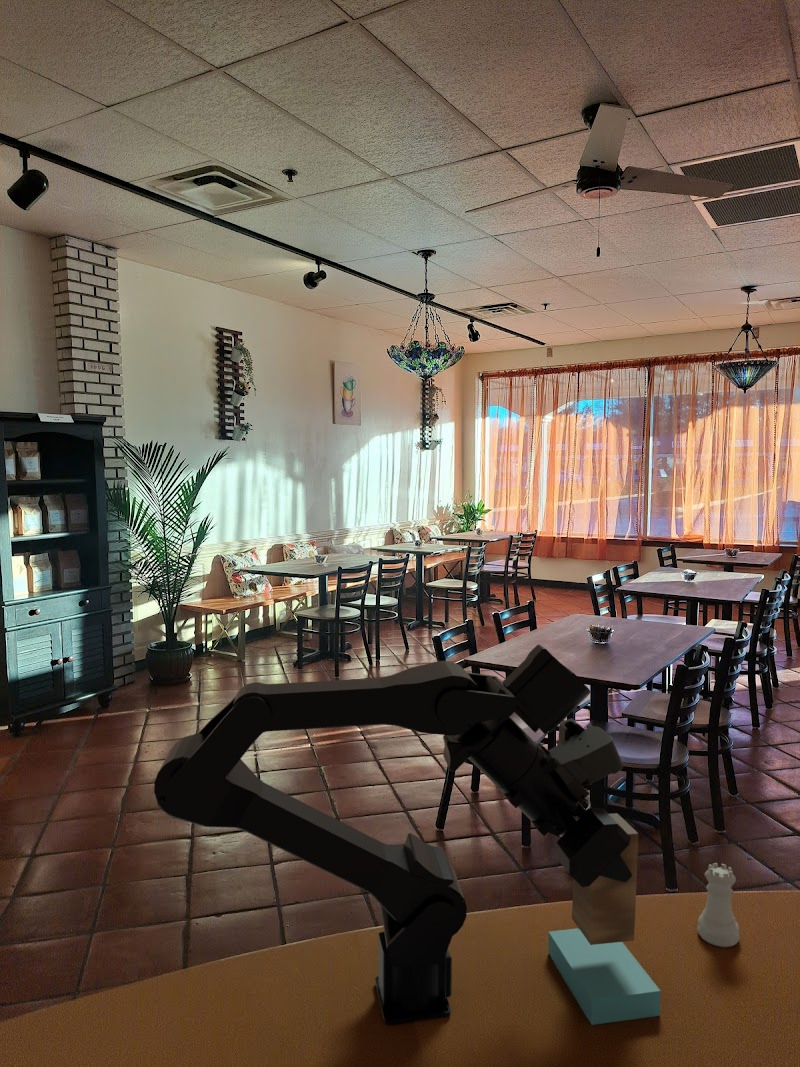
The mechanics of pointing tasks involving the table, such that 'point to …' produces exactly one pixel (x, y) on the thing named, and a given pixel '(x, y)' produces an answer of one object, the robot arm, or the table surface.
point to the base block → (603, 978)
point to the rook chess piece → (719, 909)
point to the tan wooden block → (609, 900)
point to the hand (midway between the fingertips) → (617, 865)
